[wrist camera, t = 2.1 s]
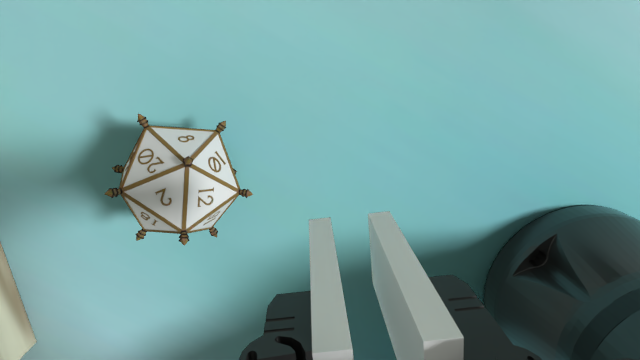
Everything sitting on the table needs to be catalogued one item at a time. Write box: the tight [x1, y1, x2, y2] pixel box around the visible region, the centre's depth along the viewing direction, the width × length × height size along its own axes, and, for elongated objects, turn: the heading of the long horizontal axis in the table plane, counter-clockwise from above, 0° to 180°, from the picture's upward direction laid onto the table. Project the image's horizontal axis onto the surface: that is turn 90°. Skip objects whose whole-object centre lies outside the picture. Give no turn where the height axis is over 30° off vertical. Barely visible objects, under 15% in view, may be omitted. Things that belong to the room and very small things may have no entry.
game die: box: [105, 114, 253, 246], centre depth 26 cm, size 9×8×10 cm
